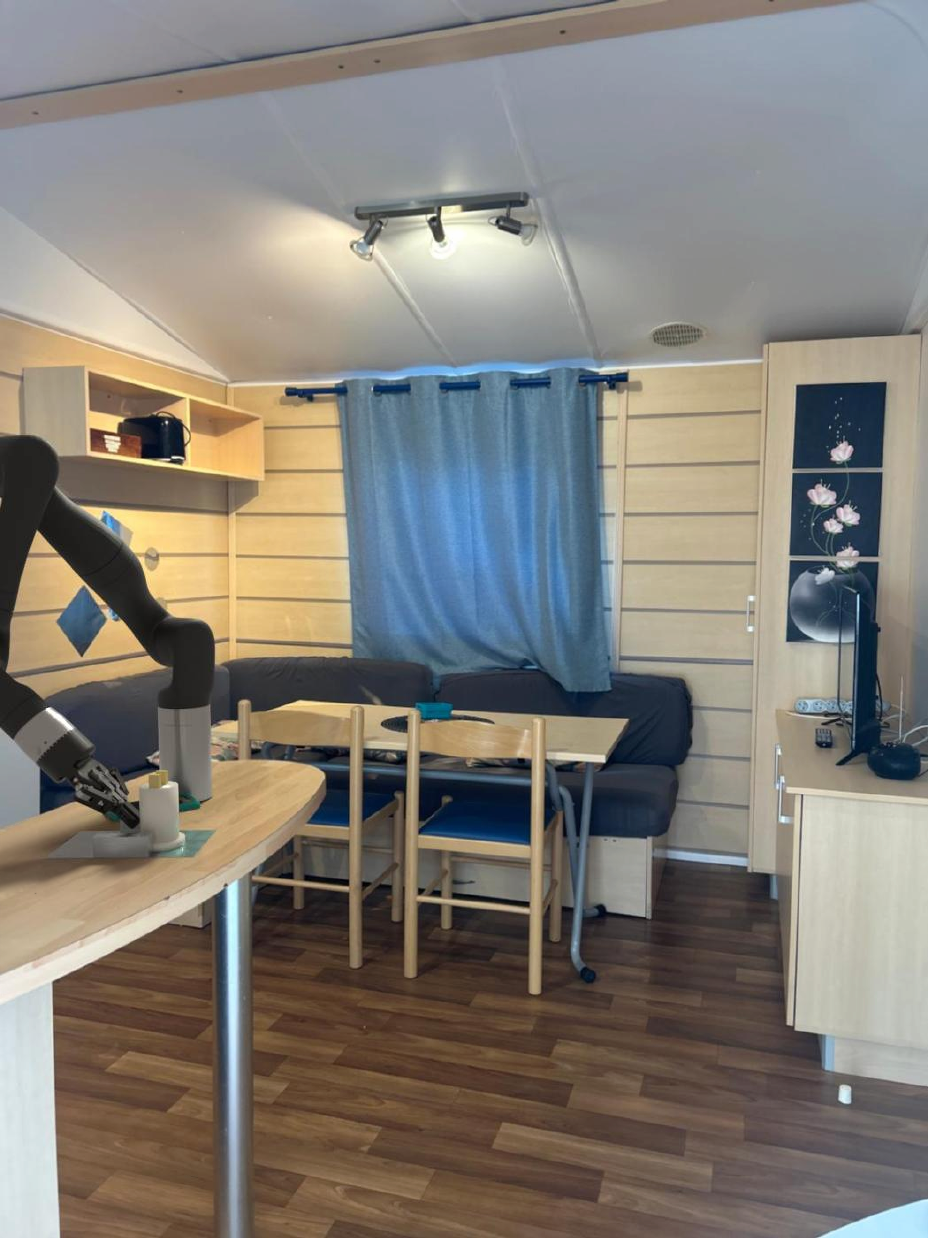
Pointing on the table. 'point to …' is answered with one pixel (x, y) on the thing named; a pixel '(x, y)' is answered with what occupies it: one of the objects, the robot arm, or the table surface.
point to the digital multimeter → (184, 804)
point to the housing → (127, 844)
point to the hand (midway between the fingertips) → (138, 823)
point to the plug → (160, 812)
